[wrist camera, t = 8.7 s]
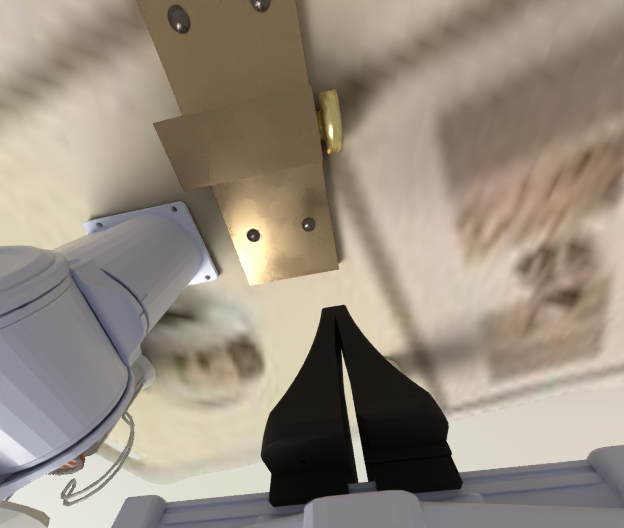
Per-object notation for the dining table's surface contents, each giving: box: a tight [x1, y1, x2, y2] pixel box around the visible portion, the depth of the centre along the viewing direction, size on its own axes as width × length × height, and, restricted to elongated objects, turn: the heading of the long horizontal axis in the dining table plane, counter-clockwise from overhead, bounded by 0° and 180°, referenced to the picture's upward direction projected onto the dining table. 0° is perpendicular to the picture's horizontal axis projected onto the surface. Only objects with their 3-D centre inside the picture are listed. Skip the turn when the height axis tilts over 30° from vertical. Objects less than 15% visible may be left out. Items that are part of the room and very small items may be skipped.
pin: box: [316, 89, 343, 154], centre depth 16 cm, size 10×4×4 cm, turn 101°
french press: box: [0, 354, 156, 528], centre depth 19 cm, size 10×12×25 cm
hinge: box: [137, 0, 339, 285], centre depth 16 cm, size 10×24×4 cm, turn 11°
